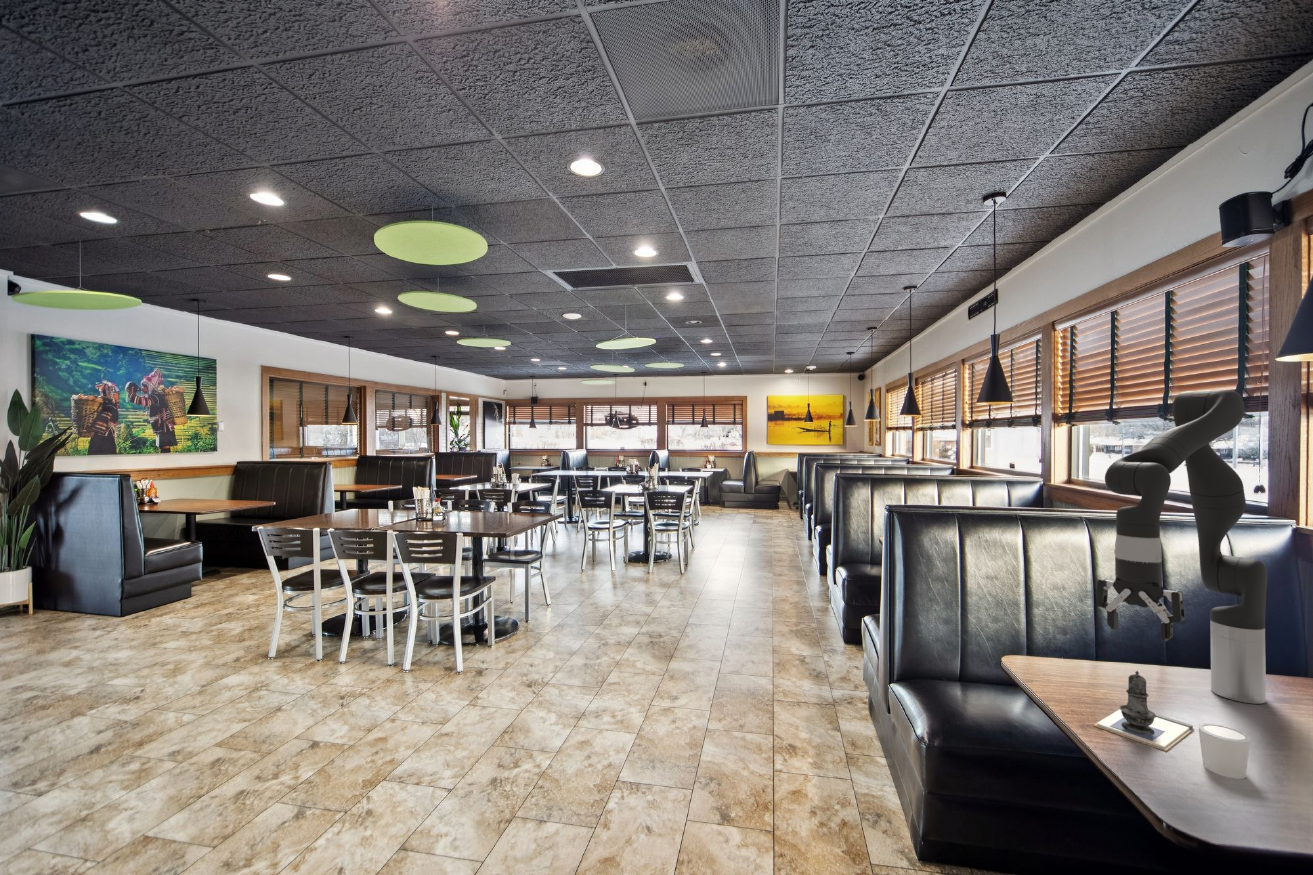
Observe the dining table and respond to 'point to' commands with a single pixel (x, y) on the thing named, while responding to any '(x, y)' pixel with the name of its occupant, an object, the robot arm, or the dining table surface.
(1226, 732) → the shot glass
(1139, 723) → the dark grey chess bishop
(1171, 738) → the order pad
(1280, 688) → the dining table surface
